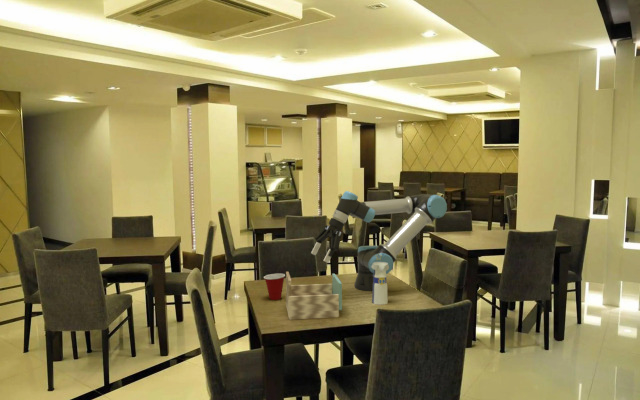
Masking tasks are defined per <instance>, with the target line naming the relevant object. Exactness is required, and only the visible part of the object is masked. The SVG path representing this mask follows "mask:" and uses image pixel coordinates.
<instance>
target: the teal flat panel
mask: <svg viewBox="0 0 640 400" xmlns="http://www.w3.org/2000/svg"><path fill="white" fill-rule="evenodd" d="M331 274H332V275H331V276H332V278H331V279H332V281H331V284H332V294H338V295H339V311H342V310H343V283H342V280H340V278H339V277H338V276H337V274H335V273H331Z"/></svg>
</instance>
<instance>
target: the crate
mask: <svg viewBox="0 0 640 400" xmlns="http://www.w3.org/2000/svg"><path fill="white" fill-rule="evenodd" d="M285 284H286V285H285V300H286V301H285V302H286V303H285V306H286V311H287V312H286V313H287V316H288V320H290V321H291V320H306V319H307V320H308V319H309V320H310V319H327V318H339V317H340V310H339V295H338V294H332V283H320V284H319V283H315V284H297V285H296V284H292V279H291V275H290V272H289V271H285Z"/></svg>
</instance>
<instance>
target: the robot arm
mask: <svg viewBox="0 0 640 400" xmlns="http://www.w3.org/2000/svg"><path fill="white" fill-rule="evenodd" d="M358 198H359V197H358V195H357V194H355V193H353V192H350V191H349V190H346V191H344V193H343V194H342V196H341V197H340V199H339V202H338V204H337V206H336V208H335V210H334V212H333V213H332V217H331V218H330V220H329V222H328V225H329V226H328V225H327V224H326V225H325V226H324V227H323V229H322V230H320V232H319V233H318V235H317V236H316V237H315V238H314V239H315V244H314V247H313V248H312V250H311V252H310V254H312V255H313V256H316V255H317V254H318V252H319V249H320V248H321V246H322V244H323V243H322V242H324V241H325V240H326V239H328V238H330V247H329V249H328V250H327V253H326V255H325V257H324V259H323V262H325V263H327V264H329V263H330V260H331V258H332V257H333V255H334V253H335V252H338V251H339V248H340V244H341V243H340V242H341V239H342V236H343V232H341V231H343V228H344V227H345V224H346V222H347V220H348V219H349V216H350V217H353V218H357V219H360V220H362V221H363V222H366V223H371V222H372V221H373V220H374V218H375V216H378V215H379V216H380V215H389V214H399V213H407V215H410V214H412V215H411V216H410V217H409V218H408V219H407V220H406V221H405V222H404V223H403V224H402V225H401V227H400V228H398V229H397V230H396V231H395V232H394V234H393V235H392V236H391V237H390V238H389V239H388V240H387V241H386V242H385V243H382V244H379V245H361V246H359V247H358V248H357V274H356V275H357V276H356V278H355V281H354V288H355V290H356V289H357V290H360V291H372V290H373V282H374V281H373V280H374V277H373V274H374V269H372V264H373V263H374V262H386V263H388V266H389V269H388V270H387V271H386V275H388V274H389V273H390V272H391V271H392V269H393V267H394V264H395V262H396V261H397V256H398V254H399V253H400V252H401V251H403V249H404V248H405V247H406V246H407V245H408V244H409V243H410V242H411V241H412V240H413V239H414V238H415V237H416V236H417V234H419V233H420V232H421V231H422V230H423V229H424V227H425V226H427V224H429V225H430V224H432V223H434V221H435V220H436V219H440V218H443V217H444V216H445V214H446V213H447V210H448V204H447V201H446V199H445V198H444V197H442V196H440V195H438V194H428V193H421V194H415V195H411V196H408V195H407V196H406V197H405V198H397V199H396V198H395V199H386V200H385V199H383V200H373V201H372V200H370V201H359V200H358ZM378 253H379V255H380V256H382V257H381V260H379V259H378V260H377V257H376V255H378Z"/></svg>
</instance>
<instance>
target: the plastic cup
mask: <svg viewBox="0 0 640 400" xmlns="http://www.w3.org/2000/svg"><path fill="white" fill-rule="evenodd" d="M285 277H286V273H271V274H266V275H265V276H263V279H264V280H265V284H266V288H267V292H268V298H269V300H271V301H278V300H279V301H280V300H281V298H282V293H283V286H284V281H285Z"/></svg>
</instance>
